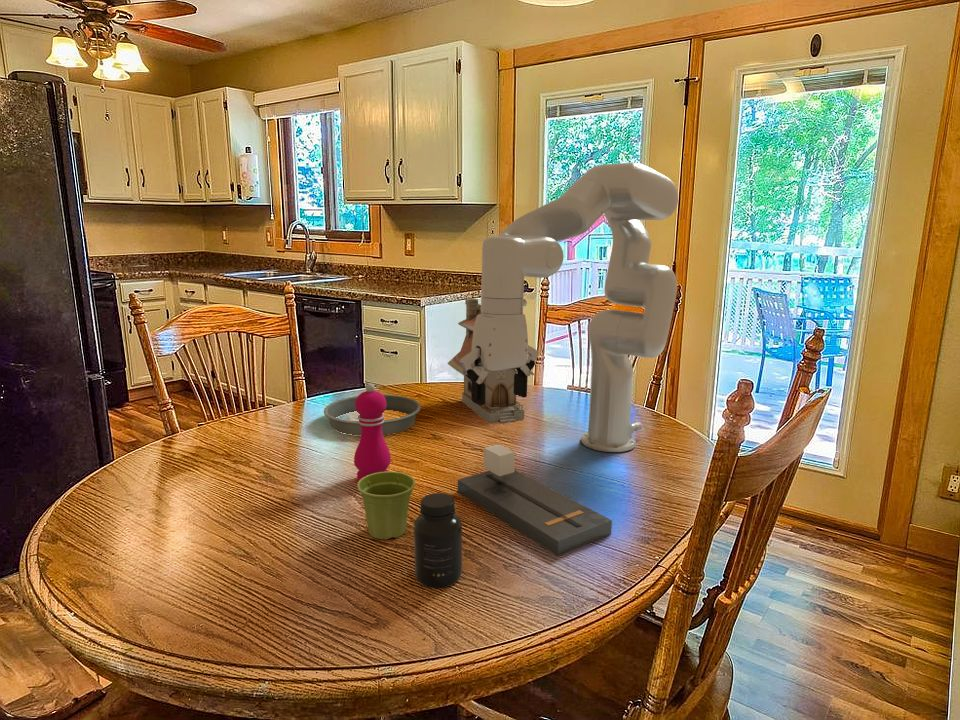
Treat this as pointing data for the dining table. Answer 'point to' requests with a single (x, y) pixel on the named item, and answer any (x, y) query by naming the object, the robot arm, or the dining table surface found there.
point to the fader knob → (499, 460)
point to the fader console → (536, 510)
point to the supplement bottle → (438, 542)
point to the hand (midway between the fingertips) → (499, 399)
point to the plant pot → (386, 502)
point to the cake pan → (388, 426)
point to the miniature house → (488, 379)
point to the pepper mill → (371, 434)
